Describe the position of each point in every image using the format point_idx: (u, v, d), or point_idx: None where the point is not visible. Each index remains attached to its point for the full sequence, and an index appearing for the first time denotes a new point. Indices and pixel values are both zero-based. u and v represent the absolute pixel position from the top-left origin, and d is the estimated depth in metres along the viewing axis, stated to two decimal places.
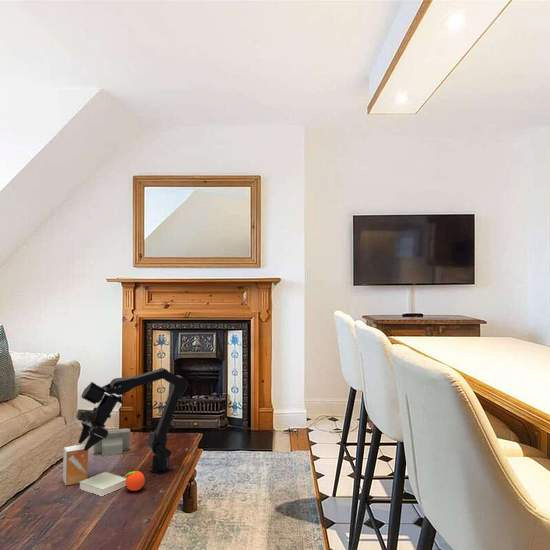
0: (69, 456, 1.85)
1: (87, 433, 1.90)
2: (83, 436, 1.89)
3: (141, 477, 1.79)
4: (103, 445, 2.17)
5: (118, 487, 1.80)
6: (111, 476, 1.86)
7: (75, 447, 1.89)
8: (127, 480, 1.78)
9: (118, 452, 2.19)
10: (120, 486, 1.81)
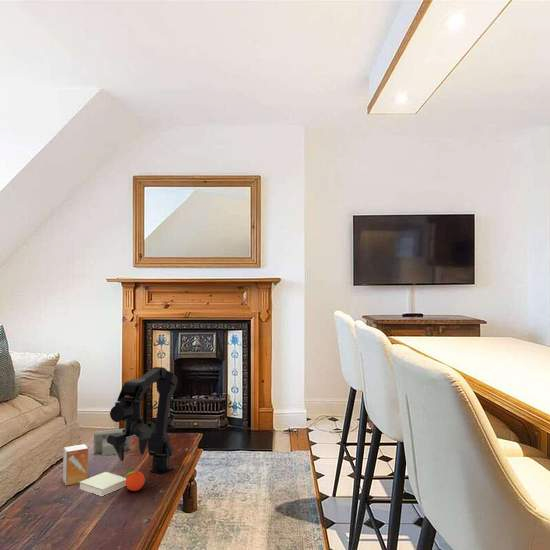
0: (69, 456, 1.85)
1: None
2: None
3: (141, 477, 1.79)
4: (103, 445, 2.17)
5: (118, 487, 1.80)
6: (111, 476, 1.86)
7: (75, 447, 1.89)
8: (127, 480, 1.78)
9: None
10: (120, 486, 1.81)
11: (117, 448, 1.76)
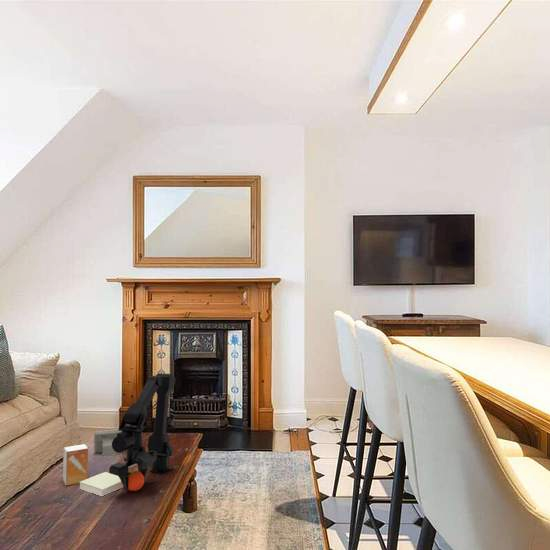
0: (69, 456, 1.85)
1: None
2: None
3: (141, 477, 1.79)
4: (103, 445, 2.17)
5: (118, 487, 1.80)
6: (111, 476, 1.86)
7: (75, 447, 1.89)
8: None
9: None
10: (120, 486, 1.81)
11: (121, 477, 1.76)
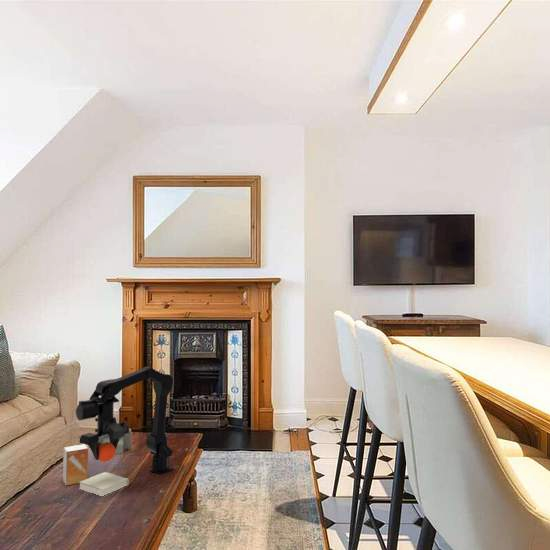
0: (69, 456, 1.85)
1: None
2: None
3: (111, 448, 1.81)
4: None
5: (118, 487, 1.80)
6: (111, 476, 1.86)
7: (75, 447, 1.89)
8: None
9: (119, 452, 2.19)
10: (120, 486, 1.81)
11: (92, 447, 1.79)
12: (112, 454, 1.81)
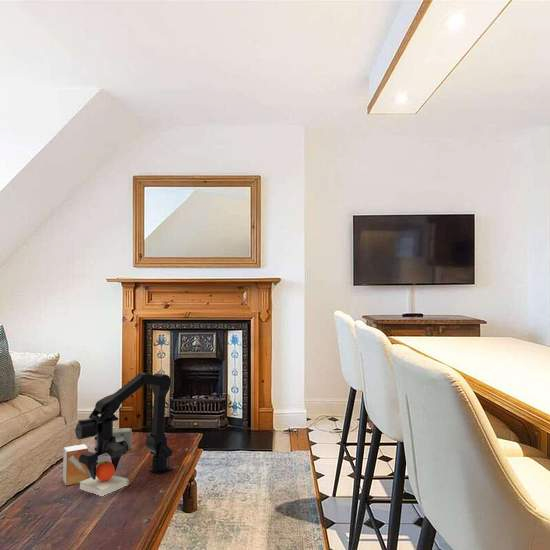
0: (69, 456, 1.85)
1: None
2: None
3: (111, 467, 1.81)
4: None
5: (118, 487, 1.80)
6: None
7: (75, 447, 1.89)
8: (97, 470, 1.80)
9: None
10: (120, 486, 1.81)
11: (89, 467, 1.78)
12: (111, 474, 1.81)
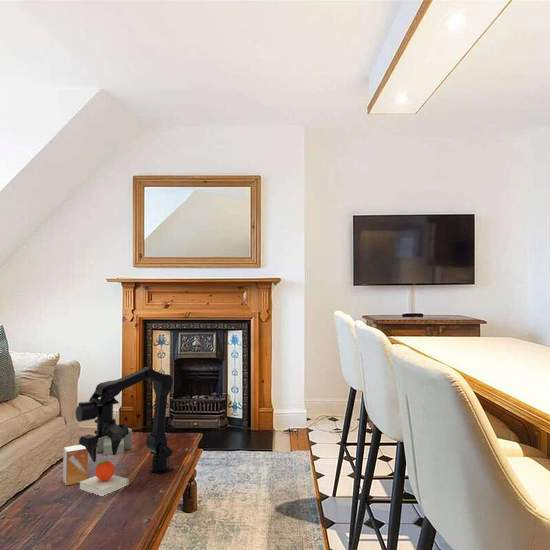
0: (69, 456, 1.85)
1: None
2: None
3: (111, 466, 1.82)
4: (104, 444, 2.18)
5: (118, 487, 1.80)
6: None
7: (75, 447, 1.89)
8: (97, 469, 1.80)
9: (119, 451, 2.20)
10: (120, 486, 1.81)
11: (89, 449, 1.78)
12: (112, 473, 1.82)
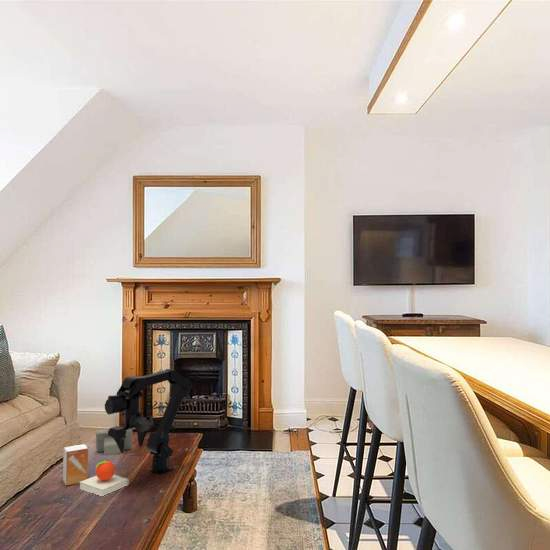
0: (69, 456, 1.85)
1: None
2: None
3: (113, 466, 1.83)
4: (105, 444, 2.19)
5: (118, 487, 1.80)
6: None
7: (75, 447, 1.89)
8: (99, 470, 1.80)
9: (119, 451, 2.20)
10: (120, 486, 1.81)
11: (117, 440, 1.85)
12: (113, 472, 1.82)
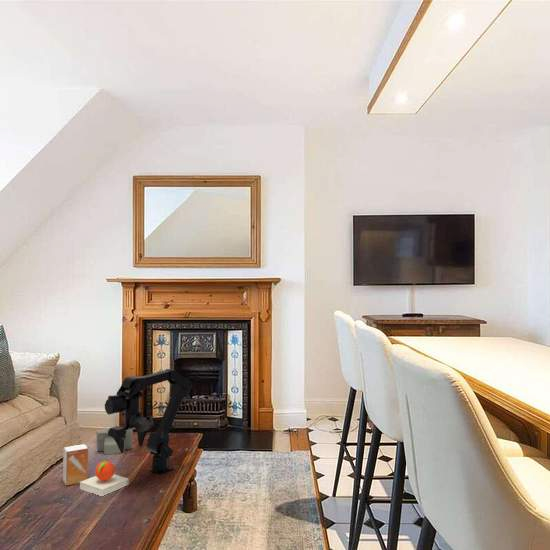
0: (69, 456, 1.85)
1: None
2: None
3: (113, 465, 1.83)
4: (105, 444, 2.19)
5: (118, 487, 1.80)
6: None
7: (75, 447, 1.89)
8: (103, 472, 1.79)
9: None
10: (120, 486, 1.81)
11: (117, 440, 1.85)
12: None
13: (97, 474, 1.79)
